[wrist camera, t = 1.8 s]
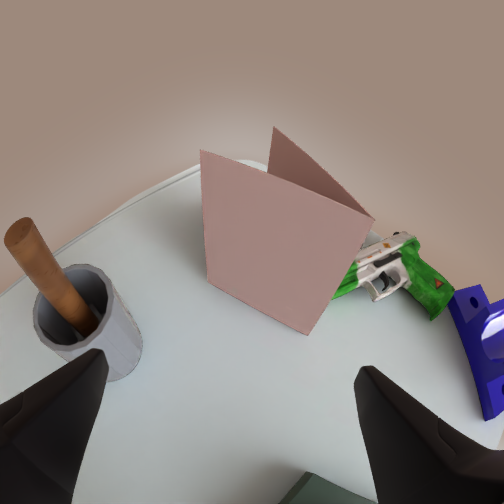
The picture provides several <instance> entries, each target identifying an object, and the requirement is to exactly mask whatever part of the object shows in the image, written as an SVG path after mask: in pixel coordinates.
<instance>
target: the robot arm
mask: <svg viewBox="0 0 504 504" xmlns="http://www.w3.org/2000/svg"><path fill="white" fill-rule="evenodd" d="M108 373H109V365H108V362H107V359H106V356H105V353H104V351H103V350H102V349H98V348H91V349H90V350H88V351H86V352H85V353H83V354H82V355H80V356H78V357H77V358H75V359H74V360H72V361H70V362H69V363H67V364H66V365H64V366H62V367H61V368H59V369H58V370H56V371H55V372H53V373H51V374H50V375H48V376H47V377H45V378H43V379H42V380H40V381H39V382H37V383H35V384H34V385H32V386H31V387H29V388H28V389H26V390H24V392H21V393H20V394H18V395H16V396H15V397H13V398H11V399H10V400H8V401H6V402H4V403H3V404H1V405H0V504H71V502H72V498H73V493H74V489H75V485H76V481H77V477H78V474H79V470H80V466H81V463H82V460H83V456H84V453H85V450H86V446H87V443H88V440H89V437H90V434H91V431H92V428H93V425H94V422H95V419H96V417H97V414H98V411H99V408H100V405H101V401H102V397H103V393H104V389H105V385H106V381H107V377H108ZM354 392H355V398H356V404H357V411H358V418H359V423H360V427H361V431H362V435H363V439H364V442H365V446H366V450H367V454H368V458H369V463H370V467H371V471H372V475H373V480H374V484H375V489H376V494H377V499H378V503H379V504H504V450H500V451H499V450H491V449H488V448H486V447H484V446H482V445H480V444H479V443H477V442H475V441H474V440H472V439H470V438H468V437H467V436H465V435H463V434H462V433H460V432H459V431H457V430H456V429H454V428H453V427H451V426H450V425H449V424H447V423H446V422H445V421H443V420H442V419H441V418H438V416H437V415H435V414H434V413H433V412H431V411H430V410H429V409H428V408H426V407H425V406H424V405H422V404H421V403H420V402H419V401H417V400H416V399H415V398H413V397H412V396H411V395H410V394H408V393H407V392H406V391H404V390H403V389H402V388H401V387H399V386H398V385H397V384H395V383H394V382H393V381H392V380H390V379H389V378H388V377H387V376H385V375H384V374H383V373H381V372H380V371H379V370H378V369H376V368H375V367H374V366H363V367H361V368H360V370H359V373H358V375H357V377H356V379H355V381H354Z"/></svg>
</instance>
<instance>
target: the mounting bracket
mask: <svg viewBox="0 0 504 504" xmlns="http://www.w3.org/2000/svg"><path fill="white" fill-rule="evenodd" d="M454 292H455V293H454V294H453V296H452V297H451V299H450V301H449V302H448V304H447V305H448V308H449V310H450V312H451V315H452V317H453V319H454V322H455V324H456V327H457V329H458V332H459V334H460V337H461V340H462V342H463V345H464V348H465V351H466V354H467V357H468V360H469V363H470V366H471V369H472V372H473V375H474V379H475V382H476V386H477V390H478V393H479V397H480V401H481V406H482V410H483V415H484V419H485V421H488V420H490V419H493V418H495V417H496V416H498V415H499V414H500V413H501V412H502V411H503V410H504V299H502V300H499V301H497V302H495V303H492V304H489V301H488V299H487V297H486V295H485V293H484V291H483V289H482V287H481V285H480V284H479V285H476V286H472V287H468V288H464V289H461V290H457V291H454Z"/></svg>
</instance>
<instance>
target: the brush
mask: <svg viewBox="0 0 504 504" xmlns="http://www.w3.org/2000/svg"><path fill="white" fill-rule="evenodd" d="M4 243H5V246H6V247H7V249H8V250H9V251H10V253H11V254H12V256H13V257H14V258H15V260H16V261H17V263H18V264H19V265H20V267H21V268H22V269H23V271H24V272H25V273H26V275H27V276H28V277H29V278H30V280H31V281H32V282H33V283H34V285H35V286H36V287H37V288H38V290H39V291H40V292H41V293H42V294H43V295H44V297H45V298H46V299H47V300H48V301H49V302H50V303H51V305H52V306H53V307H54V308H55V309H56V310H57V311H58V312H59V313H60V314H61V315H62V317H63V318H64V319H65V320H66V321H67V322H68V325H69V326H70V328H71V329H72V331H73V332H74V334H75V335H76V337H77V338H78V340H79V341H80V342H81V341H84V340H85V339H86V338H87V337H88V336H90V335H91V334H92V333H93V332H94V331H95V330H96V329H97V328H98V326H99V324H100V323H101V321H102V319H103V317H102V315H101V314H100V313H99V312H98V310H97V309H96V308H95V306H94V305H93V304H92V303H91V304H90V305H89V306H88V305H87V304H86V302H85V301H84V300H83V298H82V297H81V296H80V294H79V293H78V292H77V290H76V289H75V287H74V286H73V285H72V283H71V282H70V280H69V279H68V277H67V276H66V275H65V273H64V272H63V270H62V269H61V267H60V266H59V264H58V263H57V261H56V259H55V258H54V256H53V255H52V253H51V252H50V250H49V248H48V247H47V245H46V243H45V242H44V240H43V238H42V236H41V235H40V233H39V231H38V229H37V228H36V226H35V224H34V222H33V221H32V219H31V218H29V217H24V218H21V219H19V220H18V221H16V222H15V223H14V224H13V225H12V226H11V227H10V228H9V229H8V231H7V232H6V234H5V238H4Z"/></svg>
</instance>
